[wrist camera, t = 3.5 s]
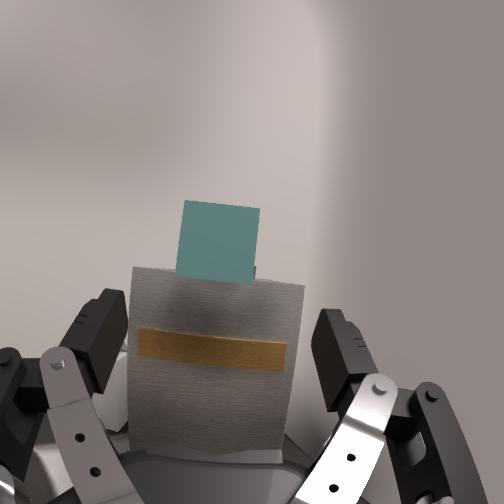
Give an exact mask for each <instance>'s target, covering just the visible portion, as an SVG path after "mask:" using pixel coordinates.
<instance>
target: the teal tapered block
mask: <svg viewBox="0 0 504 504" xmlns="http://www.w3.org/2000/svg"><path fill="white" fill-rule="evenodd" d="M259 214H260V209H259V208H251V207H242V206H234V205H225V204H216V203H207V202H197V201H188V200H185V202H184V209H183V216H182V223H181V230H180V238H179V247H178V255H177V263H176V272H175V276H178V277H187V278H195V279H204V280H212V281H221V282H230V283H240V284H249V285H252V280H253V271H254V261H255V252H256V242H257V232H258V223H259Z"/></svg>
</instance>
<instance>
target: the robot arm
mask: <svg viewBox="0 0 504 504" xmlns="http://www.w3.org/2000/svg"><path fill="white" fill-rule="evenodd" d="M127 330H128V317H127V311H126V303H125V296H124V292H123V291H121V290H114V289H107V288H105V289H104V290H103V292H102V293H101V295H100V297H99V298H98V299H92V300H90V301H89V302H88V303H86V304H85V305H84V306H83V307H82V309H81V311H80V312H79V314H78V316H77V317H76V318H75V320H74V322H73V323H72V325H71V326H70V328H69V329H68V331H67V333H66V334H65V336H64V338H63V339H62V341H61V343H60V345H59V346H58V347H53V348H50V349H48V350H47V351H46V352H44V354H43V355H42V356H41V358H22V357H21V355H20V353H19V351H18V350H16V349H14V348H11V347H7V348H3V349H0V504H31V500H30V495H29V491H28V489H27V487H26V485H25V484H24V480H25V476H26V472H27V468H28V464H29V461H30V457H31V454H32V450H33V447H34V444H35V441H36V438H37V434H38V431H39V428H40V425H41V423H42V420H43V417H44V414H45V413H48V417H49V421H50V424H51V427H52V431H53V434H54V437H55V440H56V443H57V446H58V448H59V451H60V454H61V456H62V459H63V462H64V464H65V467H66V469H67V472H68V474H69V476H70V479H71V481H72V483H73V485H74V486H73V487H72V488H70V489H69V490H67V491H66V492H64V493H63V494H61V495H60V496H58V497H56V498H55V499H53V500H52V501H50V502H48V503H47V504H355V503H356V501H357V500H358V498H359V496H360V494H361V492H362V490H363V488H364V486H365V484H366V482H367V480H368V478H369V476H370V473H371V472H372V469H373V467H374V465H375V463H376V460H377V458H378V456H379V454H380V451H381V449H382V447H383V444H384V441H385V439H386V442H387V446H388V450H389V453H390V457H391V461H392V465H393V469H394V473H395V477H396V481H397V486H398V490H399V495H400V499H401V504H488V502H487V498H486V495H485V492H484V489H483V486H482V483H481V480H480V477H479V474H478V471H477V468H476V465H475V463H474V460H473V458H472V455H471V452H470V450H469V447H468V445H467V443H466V440H465V437H464V435H463V432H462V430H461V428H460V425H459V423H458V421H457V418H456V416H455V414H454V412H453V410H452V407H451V405H450V403H449V401H448V399H447V397H446V395H445V393H444V391H443V390H442V388H441V387H439V386H438V385H436V384H434V383H432V382H423V383H421V384H420V385H419V386H418V387H417V388H416V390H415V391H414V390H407V389H402V388H397V386H396V384H395V383H394V382H393V380H391V379H390V378H389V377H387V376H385V375H383V374H379V373H378V370H377V368H376V366H375V363H374V361H373V359H372V357H371V354H370V352H369V350H368V348H366V343H365V341H364V340H363V337H362V335H361V333H360V330H359V329H358V328H357V327H356V326H355V325H354V324H353V323H352V322H348V321H347V322H346V320H345V318H344V315H343V313H342V311H341V310H340V309H322V310H321V312H320V314H319V318H318V321H317V324H316V327H315V330H314V333H313V336H312V341H311V348H312V353H313V357H314V361H315V365H316V368H317V372H318V376H319V380H320V384H321V388H322V392H323V395H324V400H325V404H326V408H327V412H338V416H339V420H338V422H337V424H336V425H335V427H334V429H333V430H332V432H331V434H330V435H329V437H328V439H327V440H326V442H325V444H324V445H323V447H322V448H321V450H320V451H319V453H318V455H317V456H316V457H315V459H314V460H313V462H312V463H311V464H310V466H309V467H306V466H304V465H302V464H301V463H298V462H296V461H293V460H290V459H286V458H282V451H281V450H246V451H241V452H235V453H230V454H223V455H210V454H207V453H204V452H201V451H198V450H194V449H191V448H189V447H186V446H183V445H178V444H171V443H164V442H158V441H152V440H149V443H148V448H140V449H134V450H130V451H127V452H125V453H122V454H120V455H119V453H118V451H117V449H116V448H115V446H114V444H113V442H112V440H111V438H110V436H109V434H108V432H107V430H106V428H105V426H104V424H103V422H102V419H101V417H100V415H99V413H98V411H97V408H96V406H95V404H94V401H93V399H92V396H93V394H94V393H98V394H102V395H103V394H104V391H105V389H106V386H107V383H108V380H109V378H110V375H111V372H112V370H113V367H114V365H115V362H116V359H117V357H118V354H119V352H120V349H121V347H122V344H123V342H124V339H125V337H126V334H127ZM11 403H12V404H11ZM10 405H11V406H10ZM9 407H10V408H9ZM8 410H9V411H8ZM7 412H8V413H7ZM6 415H7V416H6ZM419 432H421V435H422V438H423V441H424V443H425V447H426V451H425V448H424V445H423V442H422V439H421V436H420V433H419Z"/></svg>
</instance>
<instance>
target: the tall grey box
mask: <svg viewBox="0 0 504 504" xmlns="http://www.w3.org/2000/svg"><path fill="white" fill-rule="evenodd" d="M175 272H176V269H160V268H146V267H133V272H132V281H131V293H130V305H129V321H128V344H127V406H128V427H129V442H130V450H134V449H140V448H148V443H149V440H152V441H158V442H164V443H171V444H178V445H183V446H186V447H189V448H191V449H194V450H198V451H201V452H204V453H207V454H210V455H223V454H230V453H235V452H241V451H246V450H281V446H282V441H283V435H284V430H285V424H286V418H287V413H288V406H289V401H290V395H291V388H292V382H293V375H294V368H295V361H296V354H297V347H298V339H299V332H300V323H301V315H302V307H303V298H304V289H305V286H303V285H297V284H291V283H284V282H278V281H272V280H264V279H255V272H256V266H254V271H253V280H252V285H249V284H240V283H230V282H221V281H212V280H204V279H195V278H187V277H178V276H175Z"/></svg>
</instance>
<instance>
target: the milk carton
mask: <svg viewBox="0 0 504 504" xmlns="http://www.w3.org/2000/svg"><path fill="white" fill-rule="evenodd" d="M92 399H93V401H94V404H95V406H96V408H97V411H98V413H99V415H100V417H101V419H102V422H103V424H104V426H105V428H106V429H109V430H112V431H115V432H119V430H120V429H121V428H122V427H123V426H124V425H125V423H126V422H127V421H128V406H127V346H126V344H125V342H123V344H122V347H121V349H120V352H119V354H118V357H117V359H116V362H115V365H114V367H113V370H112V372H111V375H110V378H109V380H108V383H107V386H106V389H105V391H104V394H103V395H102V394H98V393H94V394H93V396H92Z"/></svg>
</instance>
